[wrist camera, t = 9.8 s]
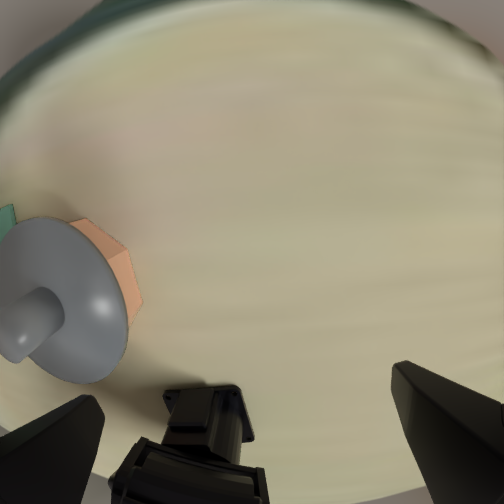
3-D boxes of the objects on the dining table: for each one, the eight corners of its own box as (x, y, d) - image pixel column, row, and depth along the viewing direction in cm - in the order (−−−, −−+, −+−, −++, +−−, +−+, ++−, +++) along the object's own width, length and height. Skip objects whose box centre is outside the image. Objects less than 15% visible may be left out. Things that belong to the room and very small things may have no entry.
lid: (154, 377, 18) (124, 433, 12) (36, 374, 19) (1, 410, 13) (96, 194, 15) (34, 204, 10) (-14, 237, 16) (-64, 254, 11)
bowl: (154, 336, 21) (135, 365, 17) (63, 342, 22) (38, 365, 18) (117, 209, 19) (87, 216, 15) (28, 237, 20) (-5, 248, 16)
